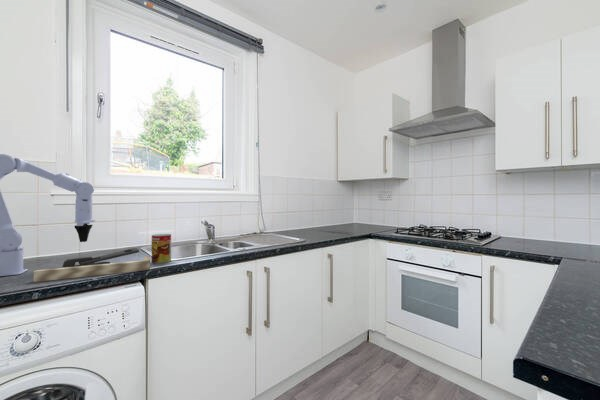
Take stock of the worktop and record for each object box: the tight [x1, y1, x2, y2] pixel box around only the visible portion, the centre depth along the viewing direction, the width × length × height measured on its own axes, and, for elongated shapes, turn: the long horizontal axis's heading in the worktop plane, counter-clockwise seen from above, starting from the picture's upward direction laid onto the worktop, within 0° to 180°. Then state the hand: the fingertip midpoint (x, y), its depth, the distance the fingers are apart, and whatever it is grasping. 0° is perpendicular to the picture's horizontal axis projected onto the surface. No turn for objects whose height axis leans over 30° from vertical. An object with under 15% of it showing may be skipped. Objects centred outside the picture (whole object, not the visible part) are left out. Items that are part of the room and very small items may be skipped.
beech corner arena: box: [33, 254, 151, 283], centre depth 105 cm, size 34×13×4 cm, turn 119°
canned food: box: [151, 233, 172, 264], centre depth 123 cm, size 8×8×12 cm
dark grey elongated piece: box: [61, 247, 140, 268], centre depth 110 cm, size 9×7×25 cm
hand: (83, 241), depth 118 cm, fingers closed
